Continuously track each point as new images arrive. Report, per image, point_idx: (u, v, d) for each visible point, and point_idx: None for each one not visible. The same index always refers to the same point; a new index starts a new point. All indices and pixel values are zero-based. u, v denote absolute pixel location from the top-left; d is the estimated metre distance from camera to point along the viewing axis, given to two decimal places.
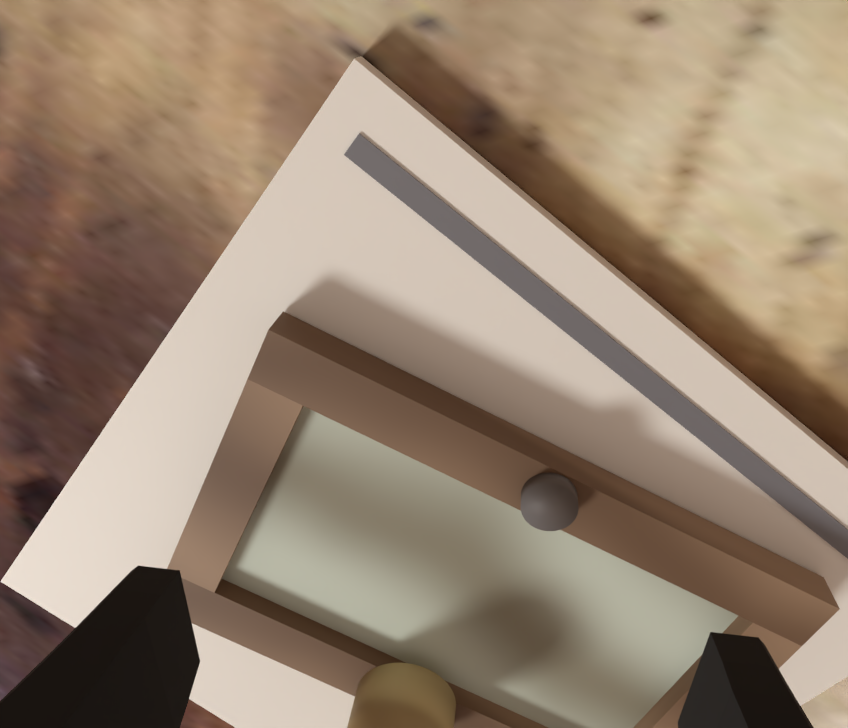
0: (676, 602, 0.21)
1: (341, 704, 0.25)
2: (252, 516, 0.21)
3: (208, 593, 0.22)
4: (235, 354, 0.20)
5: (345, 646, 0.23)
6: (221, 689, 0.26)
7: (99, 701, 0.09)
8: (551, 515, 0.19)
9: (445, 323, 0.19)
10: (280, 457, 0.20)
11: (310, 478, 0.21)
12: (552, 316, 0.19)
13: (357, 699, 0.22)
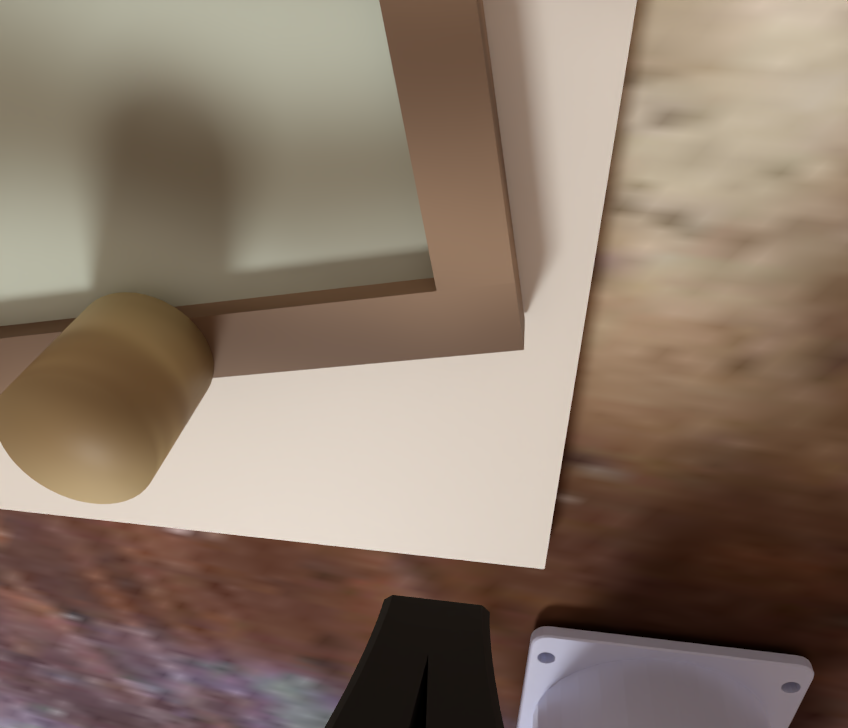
0: None
1: None
2: None
3: None
4: None
5: (37, 330, 0.17)
6: None
7: None
8: None
9: None
10: None
11: None
12: None
13: None
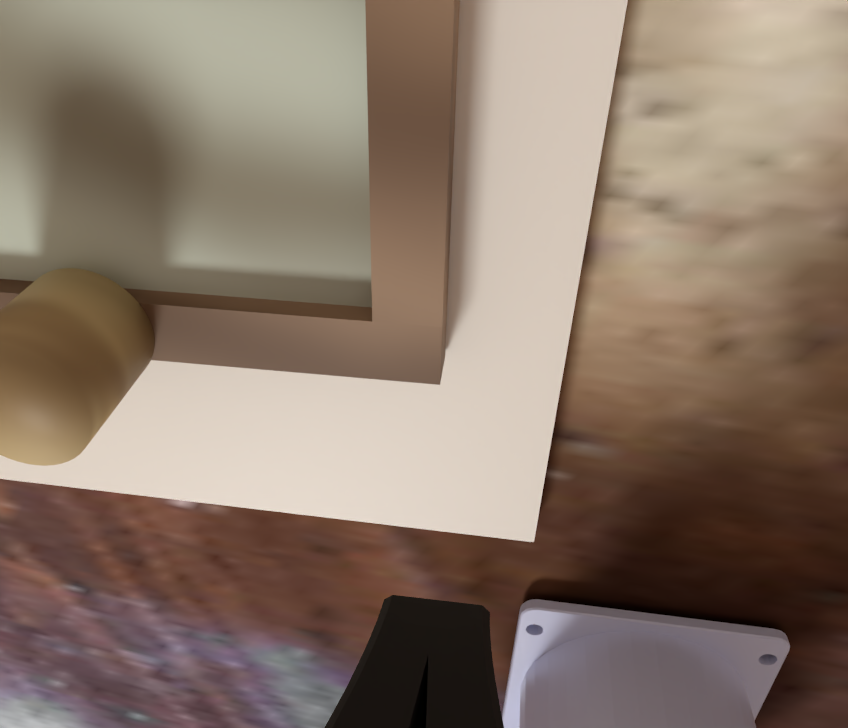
0: None
1: (171, 399, 0.20)
2: None
3: None
4: None
5: None
6: None
7: None
8: None
9: None
10: None
11: None
12: None
13: None
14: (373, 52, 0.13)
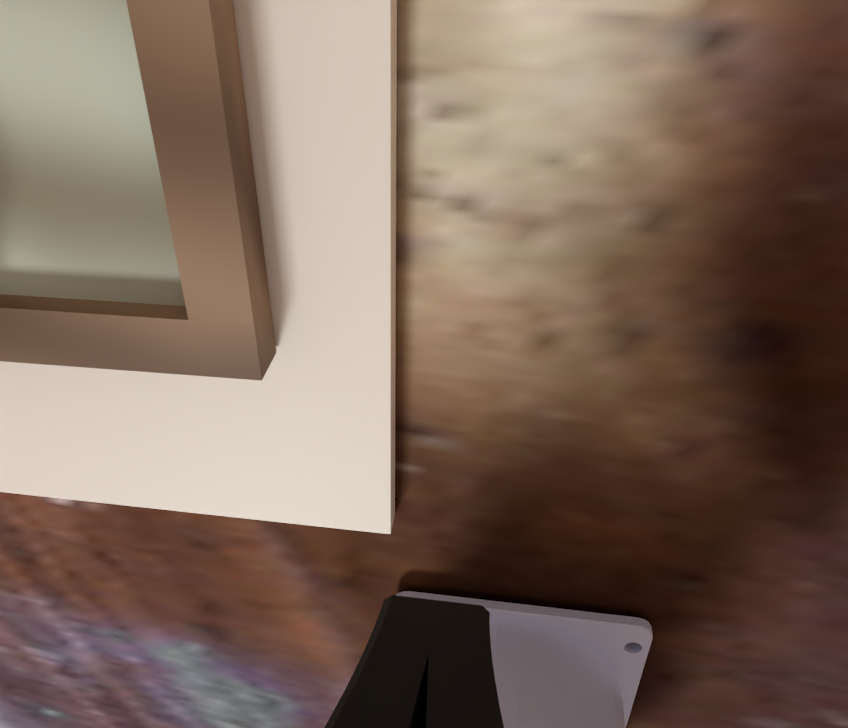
0: (60, 13, 0.14)
1: (29, 399, 0.21)
2: None
3: None
4: None
5: None
6: None
7: None
8: None
9: None
10: None
11: None
12: None
13: None
14: (144, 62, 0.14)
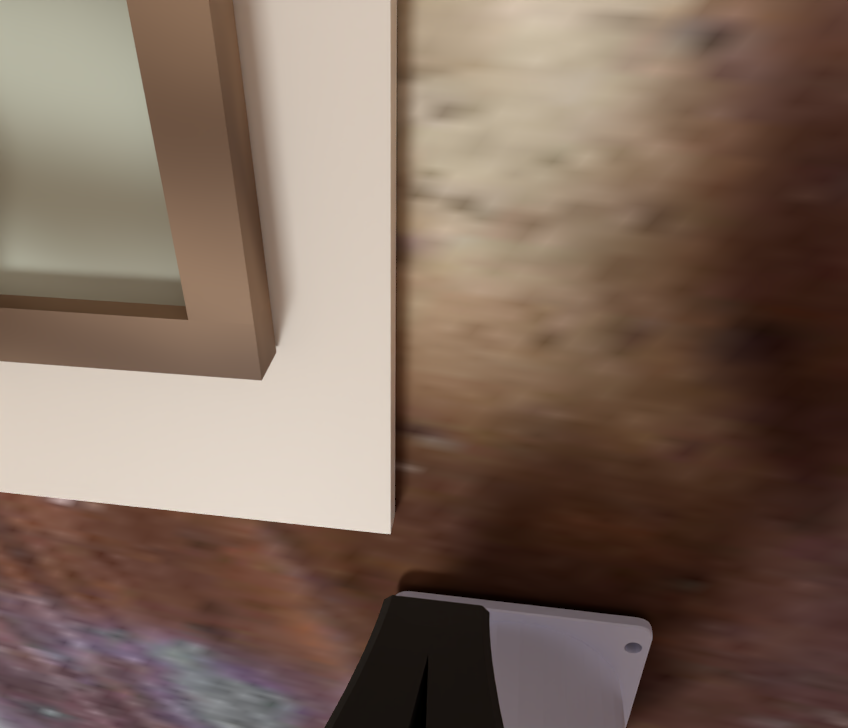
0: (60, 13, 0.14)
1: (29, 399, 0.21)
2: None
3: None
4: None
5: None
6: None
7: None
8: None
9: None
10: None
11: None
12: None
13: None
14: (144, 62, 0.14)
